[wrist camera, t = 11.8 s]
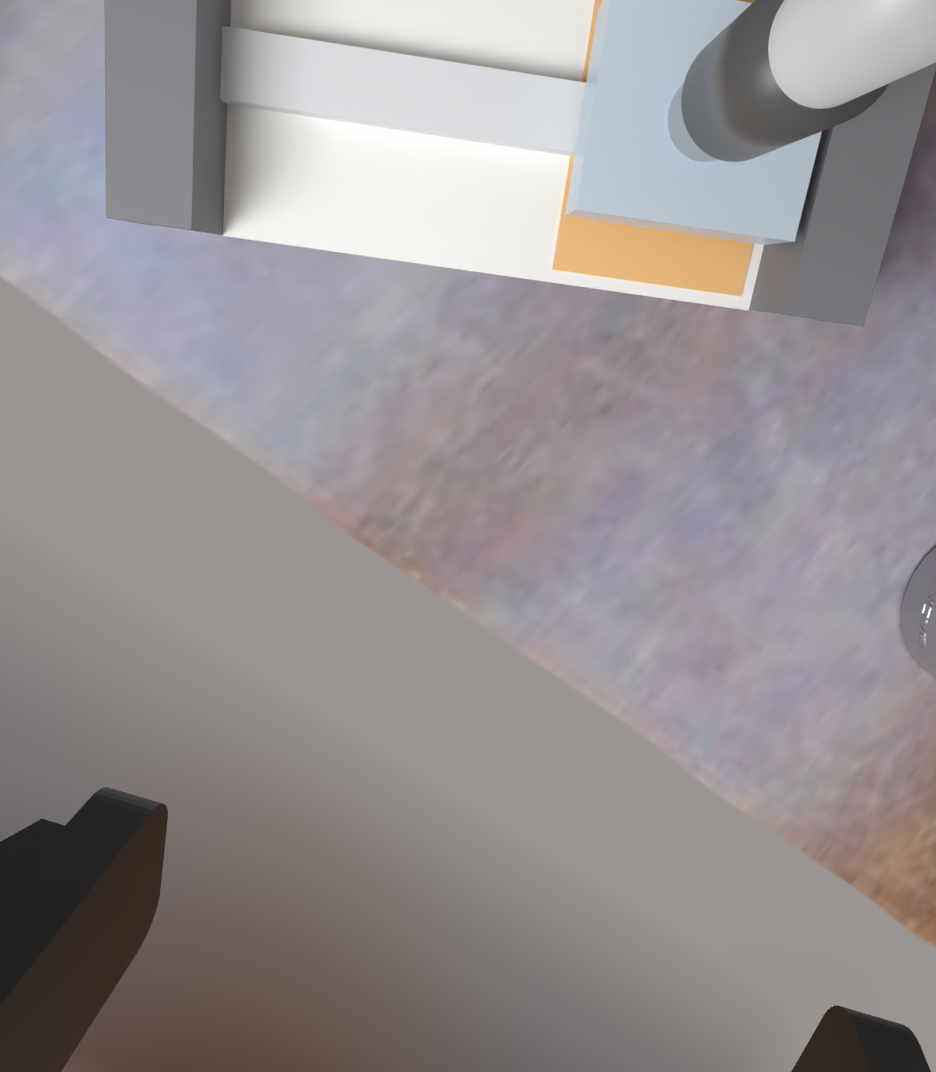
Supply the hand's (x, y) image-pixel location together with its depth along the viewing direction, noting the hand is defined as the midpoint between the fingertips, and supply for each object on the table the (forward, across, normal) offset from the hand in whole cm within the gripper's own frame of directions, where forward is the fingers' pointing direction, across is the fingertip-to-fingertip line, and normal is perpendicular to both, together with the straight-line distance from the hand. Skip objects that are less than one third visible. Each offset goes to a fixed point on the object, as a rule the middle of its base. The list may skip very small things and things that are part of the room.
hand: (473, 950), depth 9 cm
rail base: (+29, +5, -12) cm, 32 cm away
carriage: (+27, -1, -12) cm, 30 cm away
